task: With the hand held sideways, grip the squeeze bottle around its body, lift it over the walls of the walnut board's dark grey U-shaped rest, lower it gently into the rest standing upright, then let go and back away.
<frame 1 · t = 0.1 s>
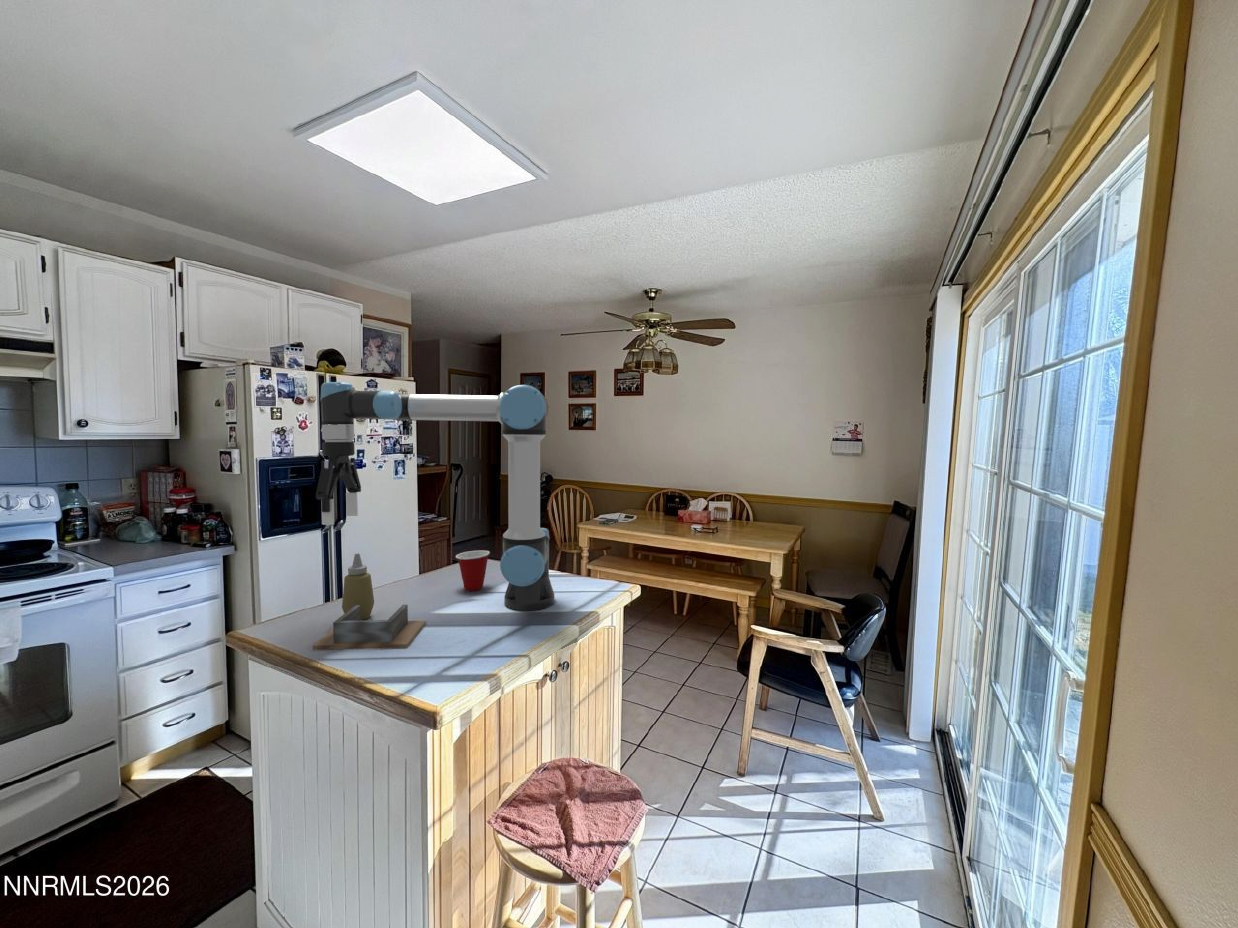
hand: (340, 519, 137), 28 cm above the countertop, tool pointing down, fingers open, 13 cm apart
squeeze bottle: (358, 618, 142), on the countertop
plastic cup: (472, 589, 169), on the countertop
u rest: (372, 635, 130), on the countertop
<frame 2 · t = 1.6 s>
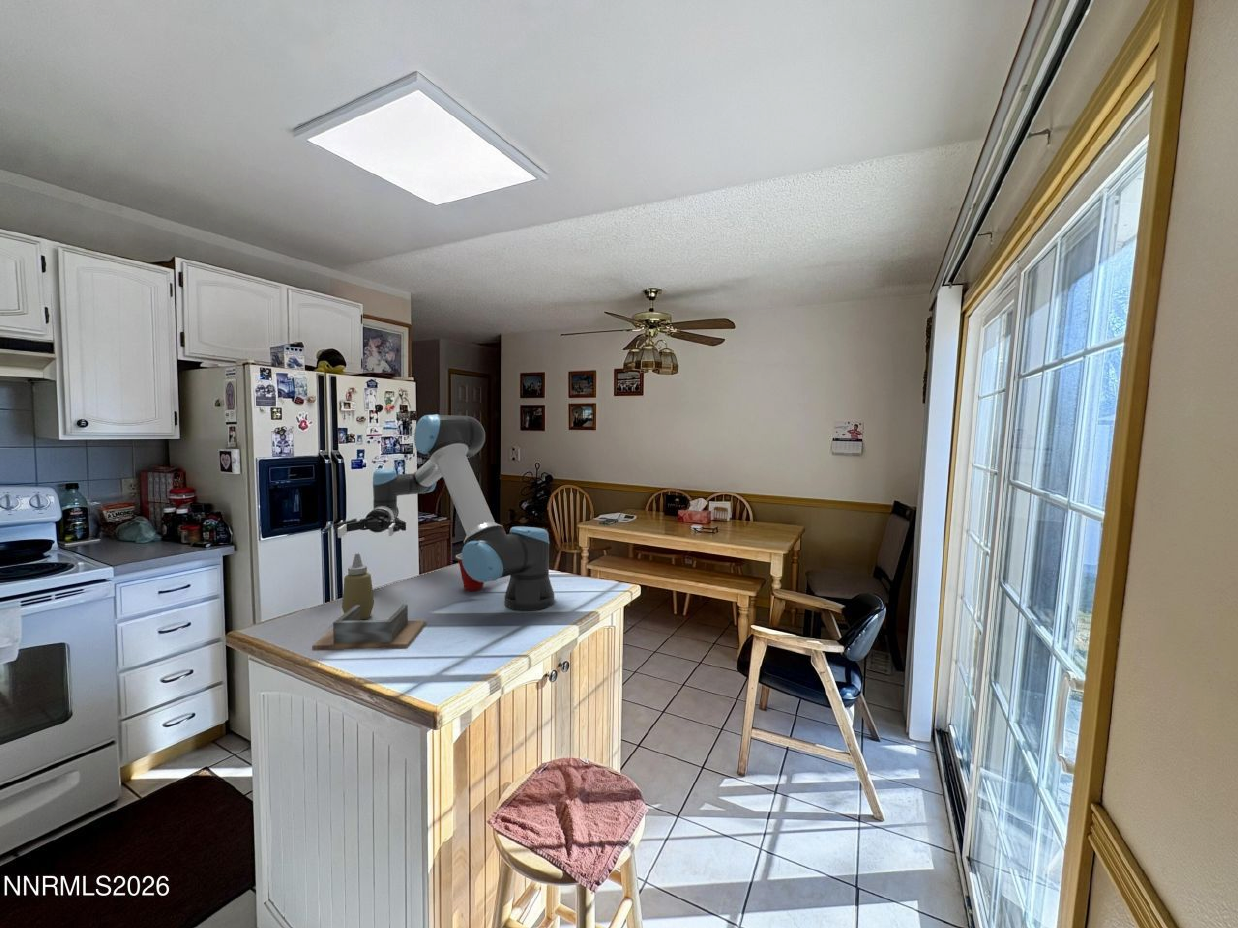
hand: (364, 532, 149), 22 cm above the countertop, tool horizontal, fingers open, 13 cm apart
nothing on the countertop moved.
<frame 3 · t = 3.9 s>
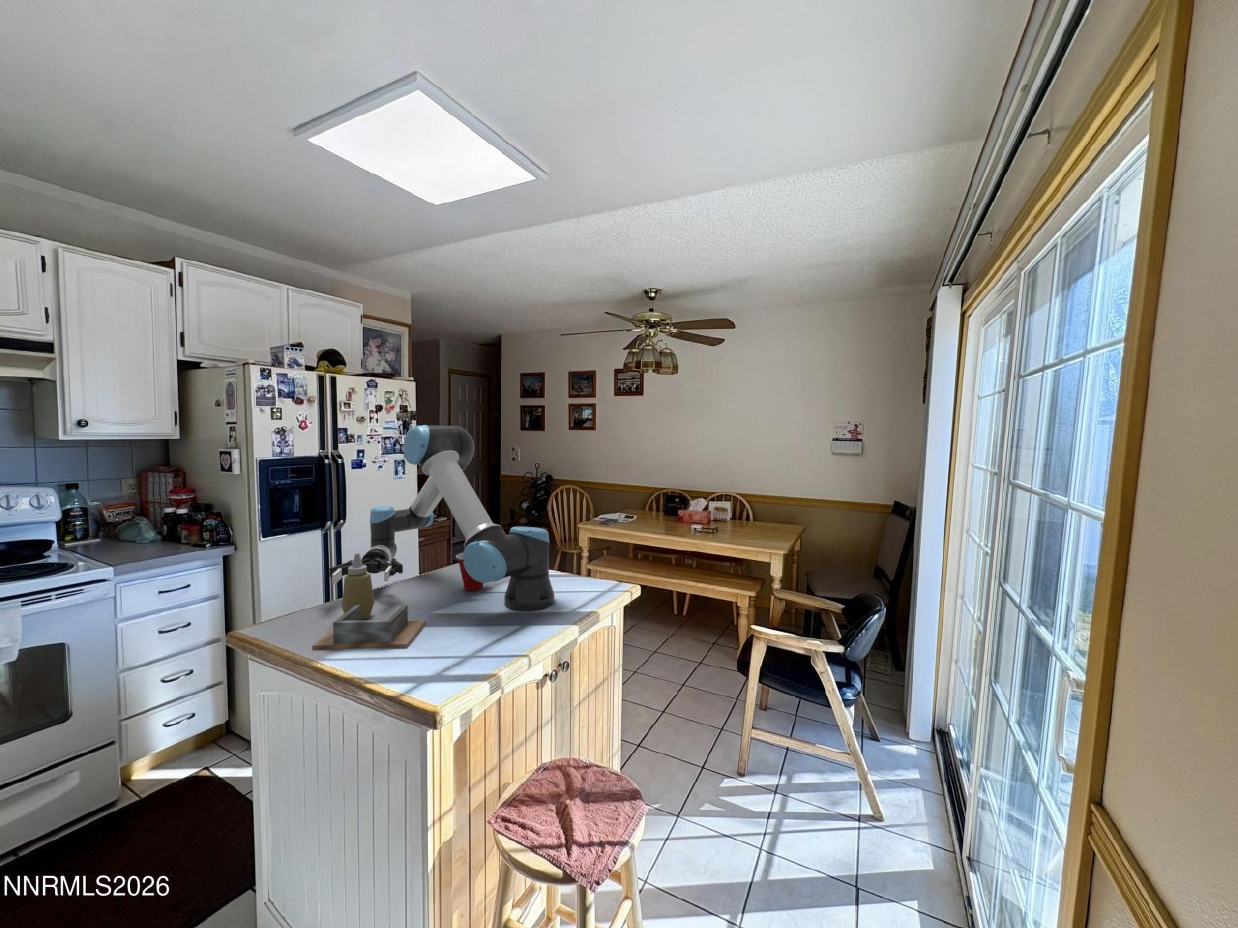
hand: (359, 578, 145), 10 cm above the countertop, tool horizontal, fingers open, 13 cm apart
nothing on the countertop moved.
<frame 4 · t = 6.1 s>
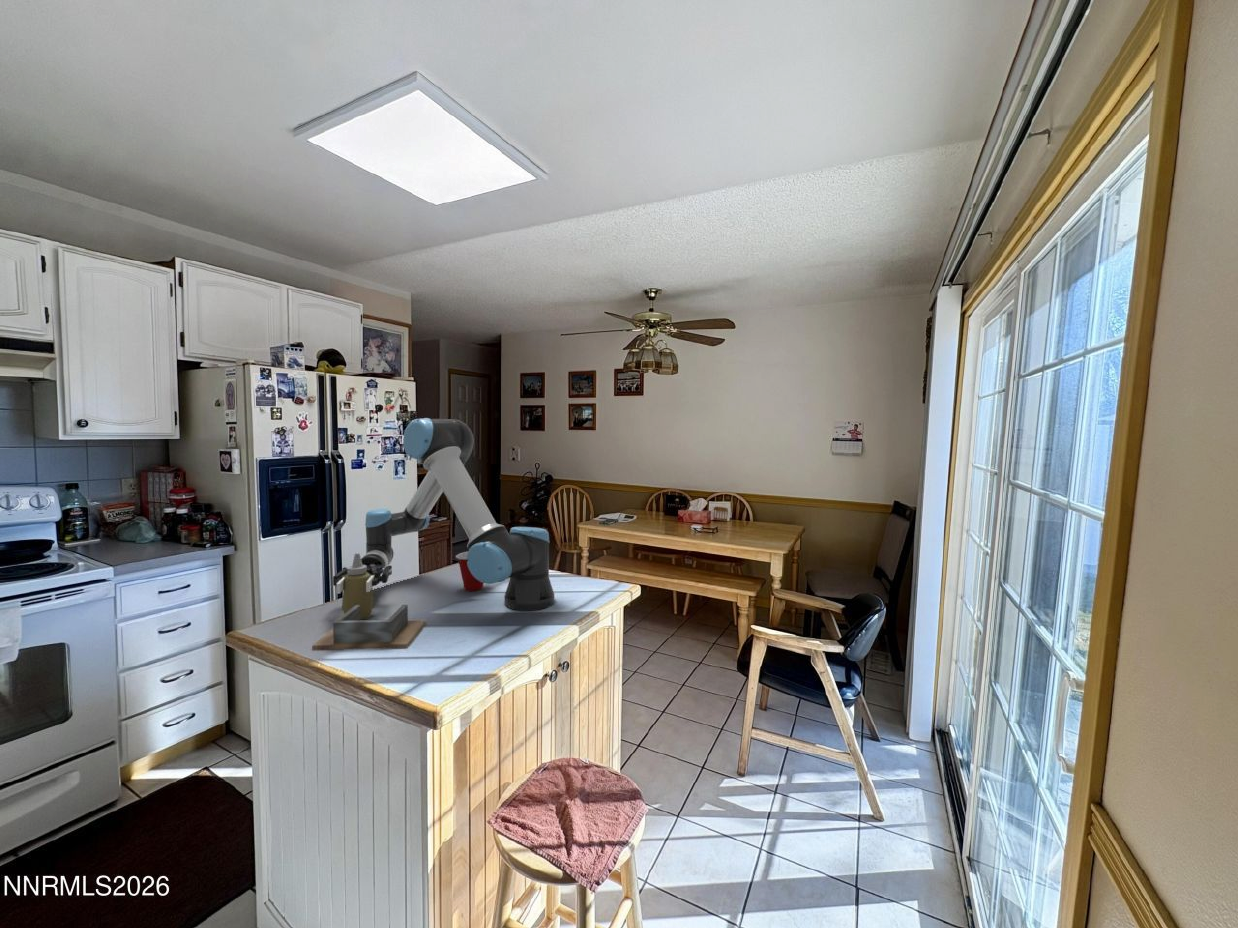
hand: (353, 587, 136), 10 cm above the countertop, tool horizontal, fingers closed on squeeze bottle, 6 cm apart
squeeze bottle: (358, 618, 142), on the countertop, touching gripper
everything else where it was.
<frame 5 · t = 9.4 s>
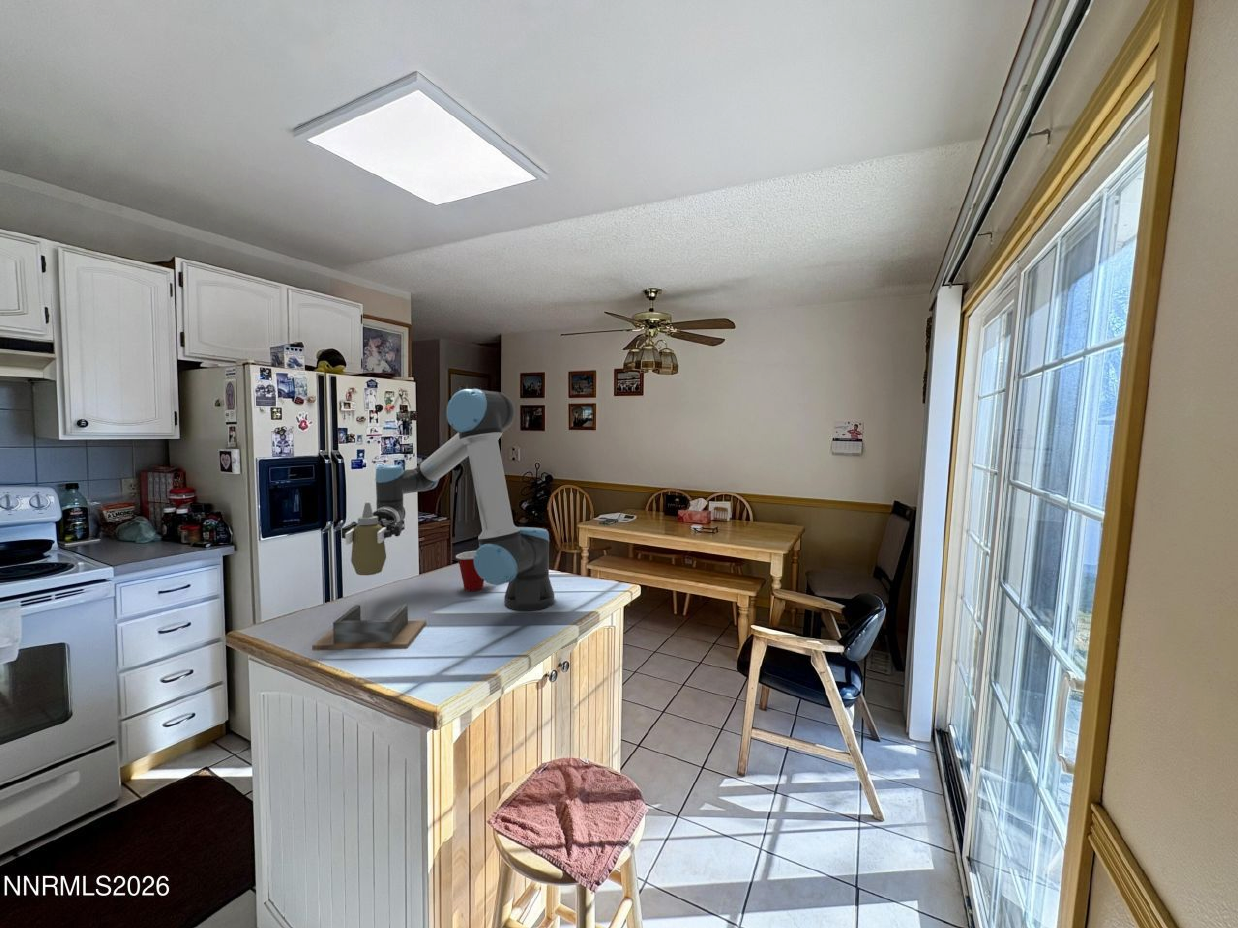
hand: (363, 538, 125), 26 cm above the countertop, tool horizontal, fingers closed on squeeze bottle, 6 cm apart
squeeze bottle: (369, 573, 130), point 16 cm above the countertop, touching gripper
everything else where it was.
when the fingers open (12 cm above the countertop, at t = 12.6 s): squeeze bottle drops 1 cm, resting on u rest.
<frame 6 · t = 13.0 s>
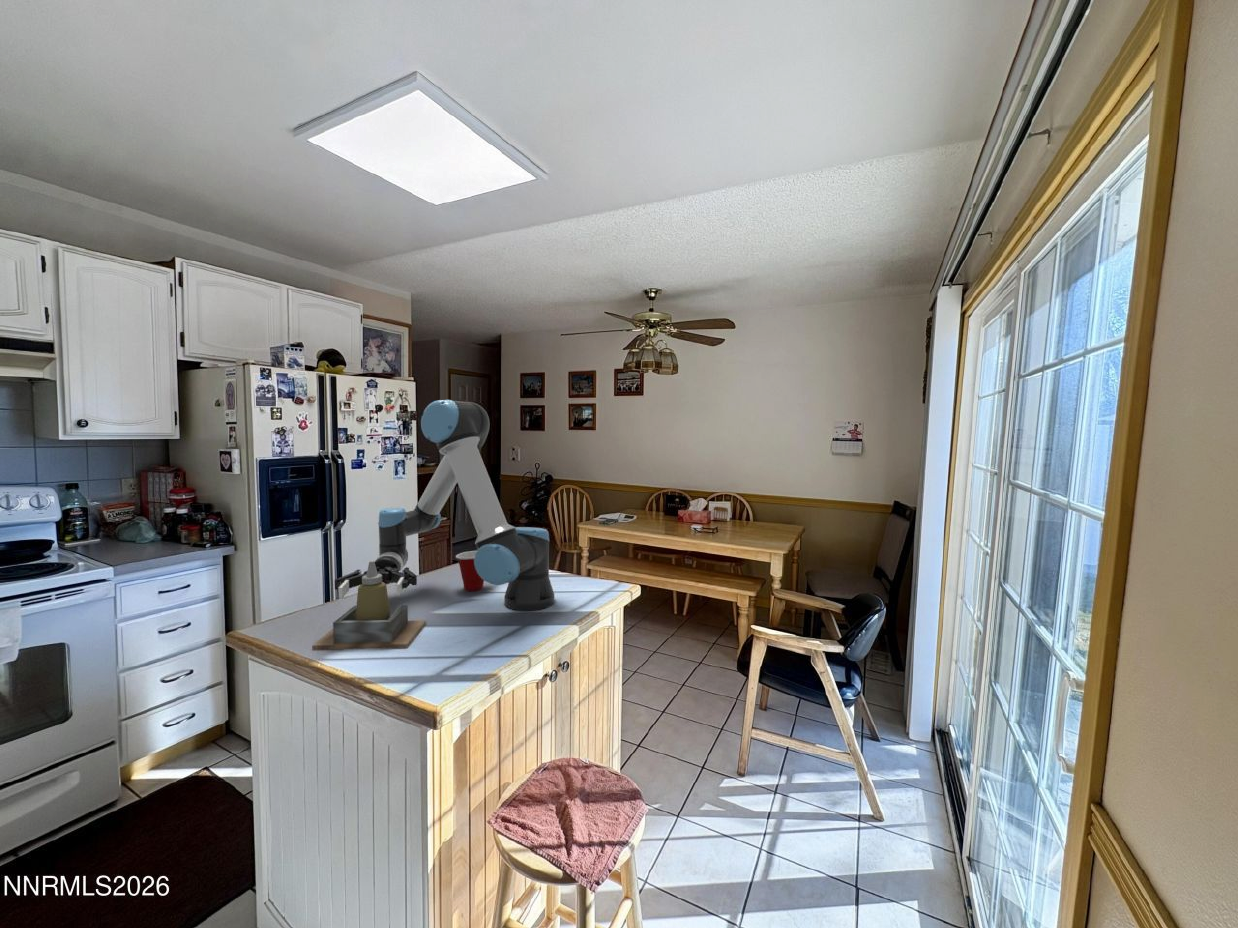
hand: (369, 591, 126), 12 cm above the countertop, tool horizontal, fingers open, 12 cm apart
squeeze bottle: (373, 631, 130), point 1 cm above the countertop, touching u rest
everything else where it was.
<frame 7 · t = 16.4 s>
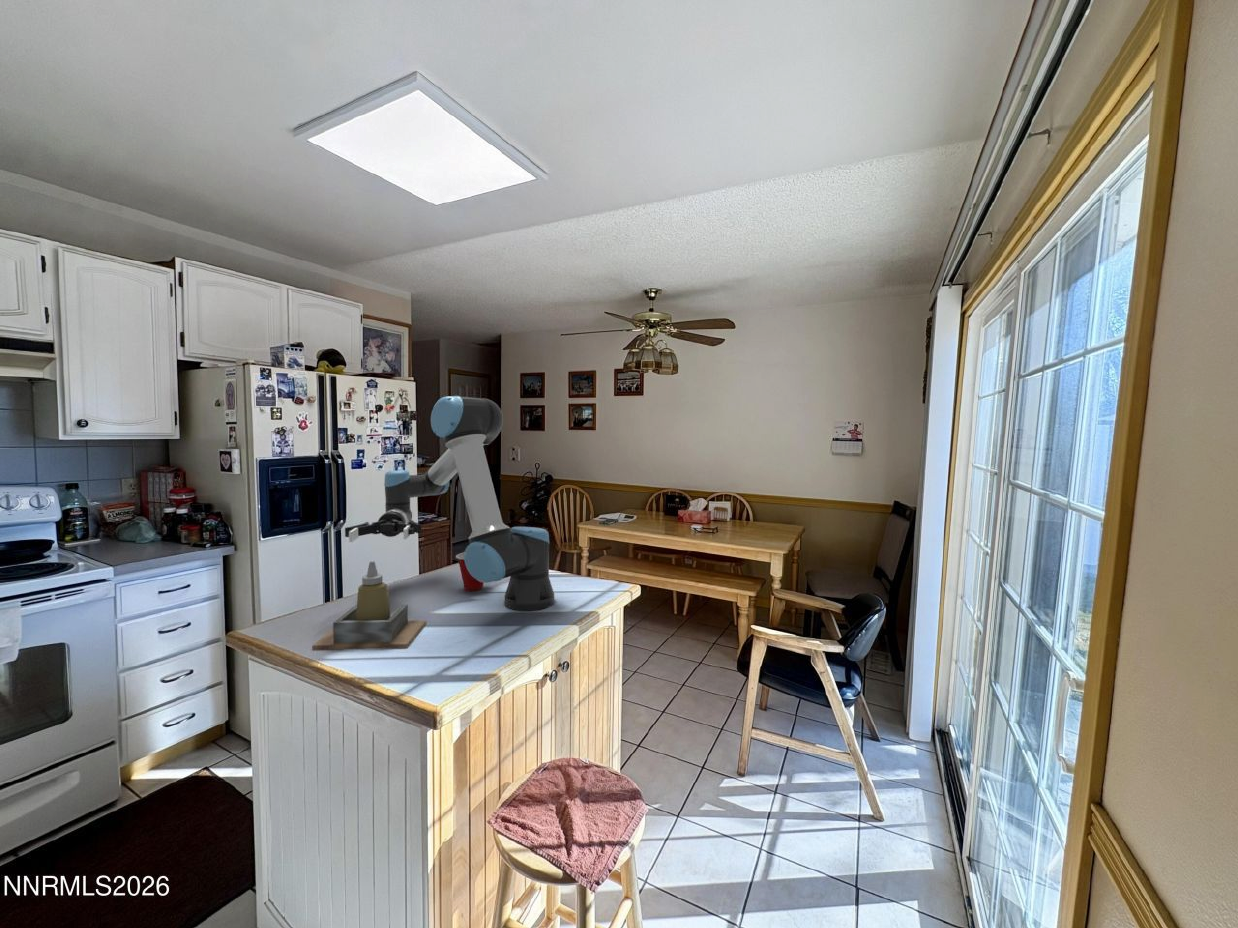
hand: (378, 535, 138), 24 cm above the countertop, tool horizontal, fingers open, 13 cm apart
nothing on the countertop moved.
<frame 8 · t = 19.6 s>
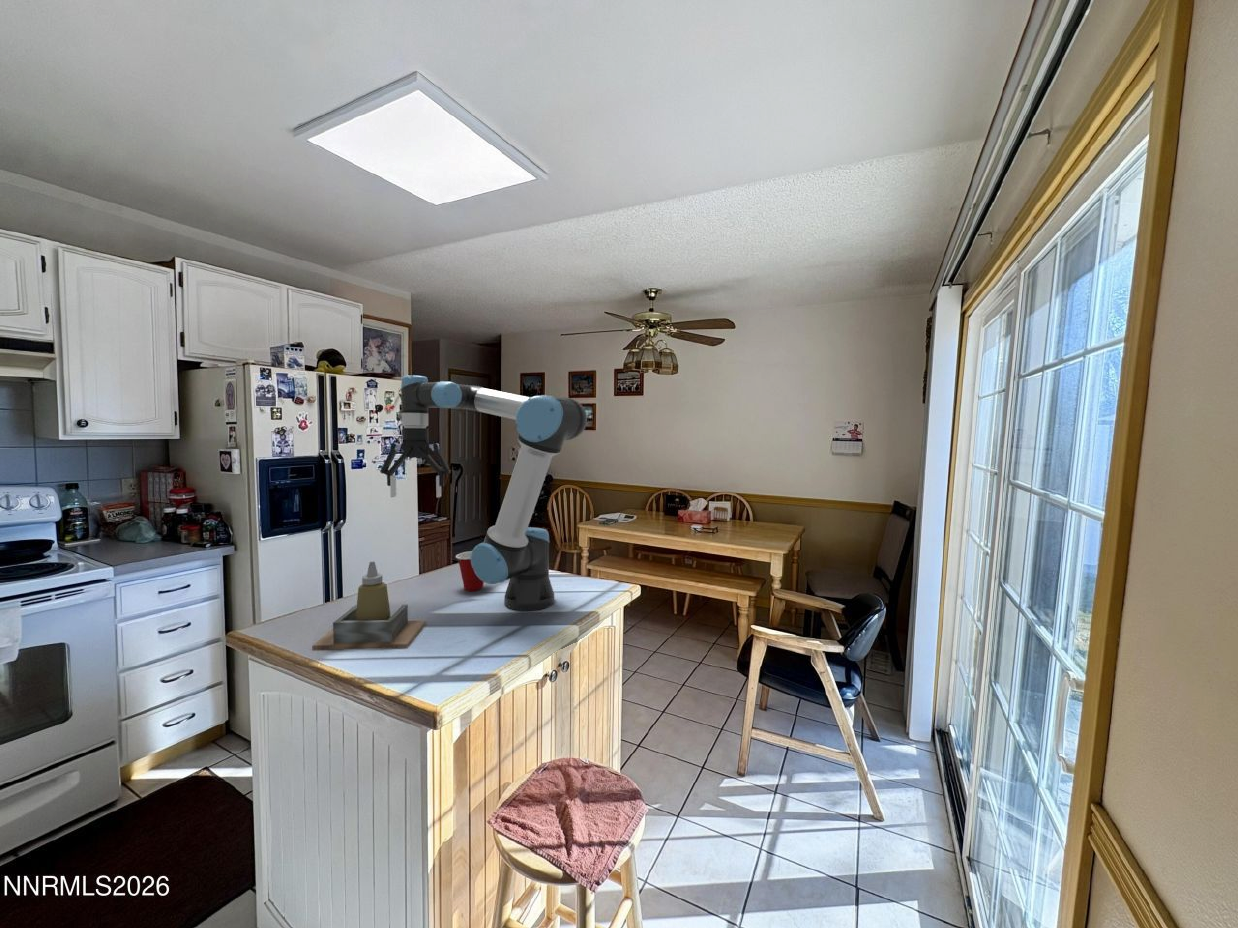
hand: (416, 496, 156), 32 cm above the countertop, tool pointing down, fingers open, 13 cm apart
nothing on the countertop moved.
at the end: squeeze bottle inside the target area on the u rest (0.0 cm from its centre), point 0.8 cm above the u rest's base; squeeze bottle tilted 0°; the gripper is holding nothing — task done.
